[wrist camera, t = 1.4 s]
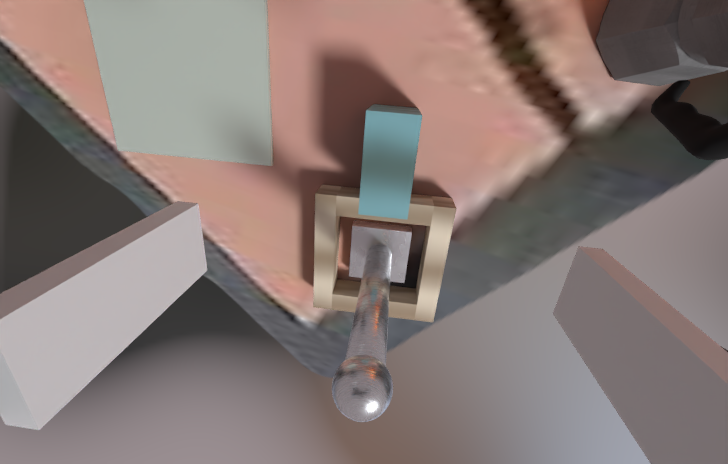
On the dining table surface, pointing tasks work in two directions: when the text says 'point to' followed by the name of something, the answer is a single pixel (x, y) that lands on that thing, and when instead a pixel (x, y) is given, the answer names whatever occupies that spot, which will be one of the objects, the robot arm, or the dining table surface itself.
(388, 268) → the stand
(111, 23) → the mat
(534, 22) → the dining table surface
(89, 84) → the dining table surface
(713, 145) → the coffeepot
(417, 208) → the sponge holder
